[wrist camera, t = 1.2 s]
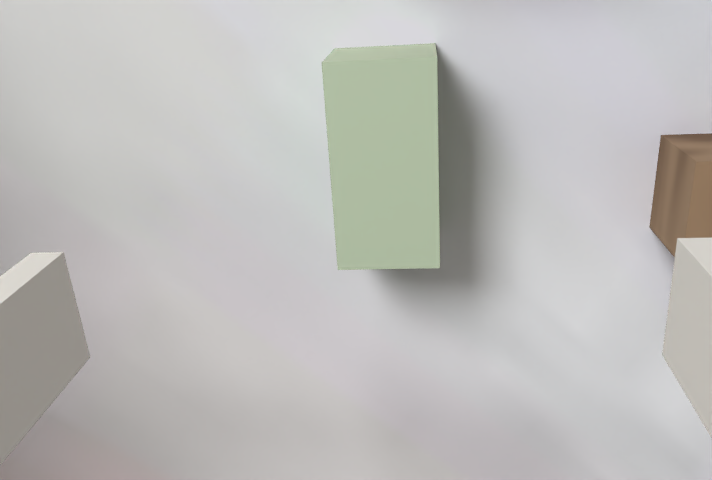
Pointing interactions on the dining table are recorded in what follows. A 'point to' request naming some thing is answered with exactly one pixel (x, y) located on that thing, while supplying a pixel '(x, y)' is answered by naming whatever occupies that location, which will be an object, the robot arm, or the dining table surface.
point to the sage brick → (384, 155)
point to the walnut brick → (683, 189)
